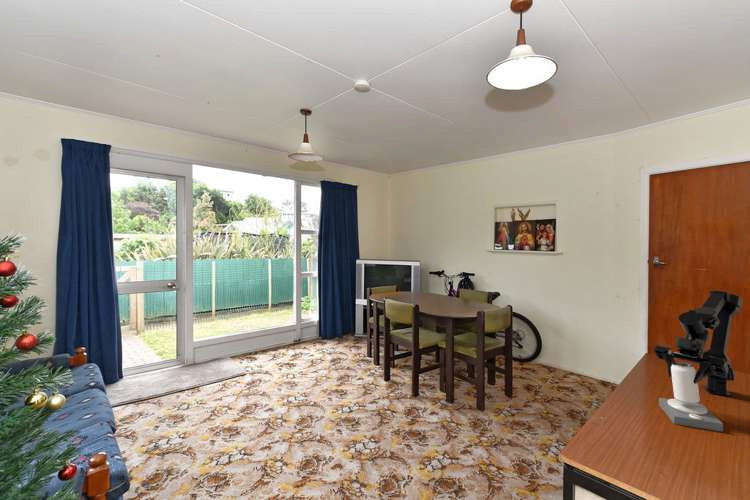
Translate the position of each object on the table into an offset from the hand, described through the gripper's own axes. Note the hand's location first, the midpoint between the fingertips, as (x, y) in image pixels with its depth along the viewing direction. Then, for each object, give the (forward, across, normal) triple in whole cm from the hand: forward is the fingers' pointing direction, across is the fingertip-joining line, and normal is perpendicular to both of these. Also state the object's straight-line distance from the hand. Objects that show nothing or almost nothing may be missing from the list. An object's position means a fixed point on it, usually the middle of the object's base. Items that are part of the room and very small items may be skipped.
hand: (681, 379), depth 116 cm
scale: (+9, +2, +9) cm, 12 cm away
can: (+4, +1, +6) cm, 7 cm away
